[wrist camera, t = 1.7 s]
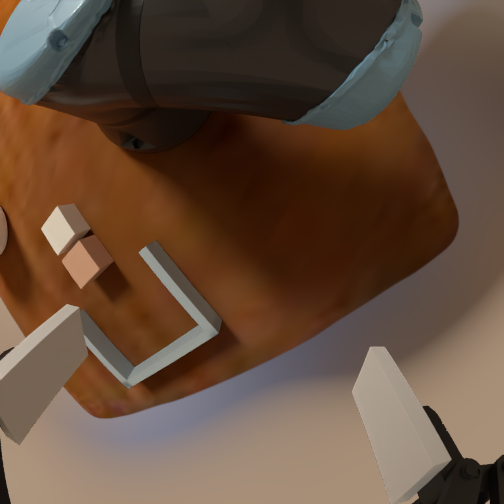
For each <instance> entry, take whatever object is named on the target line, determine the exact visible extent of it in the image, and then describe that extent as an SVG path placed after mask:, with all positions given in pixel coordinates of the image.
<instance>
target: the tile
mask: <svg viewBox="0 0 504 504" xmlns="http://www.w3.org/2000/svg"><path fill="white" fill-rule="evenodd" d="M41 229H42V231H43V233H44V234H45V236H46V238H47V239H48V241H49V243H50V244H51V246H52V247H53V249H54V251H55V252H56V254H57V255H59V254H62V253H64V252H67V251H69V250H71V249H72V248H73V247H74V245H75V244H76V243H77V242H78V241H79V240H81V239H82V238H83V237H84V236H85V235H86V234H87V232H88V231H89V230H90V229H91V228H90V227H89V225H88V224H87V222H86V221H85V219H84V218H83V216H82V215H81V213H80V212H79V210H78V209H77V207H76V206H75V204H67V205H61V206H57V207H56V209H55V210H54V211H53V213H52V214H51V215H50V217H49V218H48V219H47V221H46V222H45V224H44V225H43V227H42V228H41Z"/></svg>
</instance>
